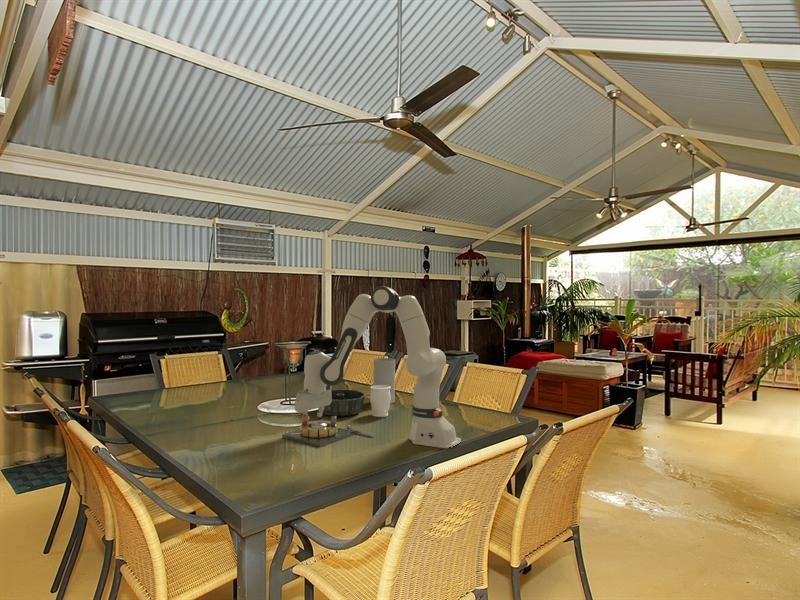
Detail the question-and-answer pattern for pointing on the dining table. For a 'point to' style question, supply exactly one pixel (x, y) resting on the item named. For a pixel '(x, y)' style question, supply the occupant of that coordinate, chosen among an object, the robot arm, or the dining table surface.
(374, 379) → the cylinder vase
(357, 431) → the spanner
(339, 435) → the cap plate
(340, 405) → the bundt pan
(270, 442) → the dining table surface
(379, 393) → the jar
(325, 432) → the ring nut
